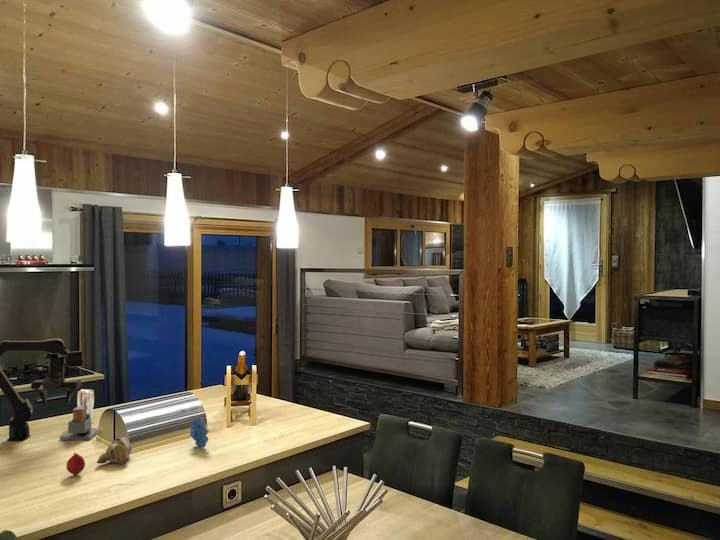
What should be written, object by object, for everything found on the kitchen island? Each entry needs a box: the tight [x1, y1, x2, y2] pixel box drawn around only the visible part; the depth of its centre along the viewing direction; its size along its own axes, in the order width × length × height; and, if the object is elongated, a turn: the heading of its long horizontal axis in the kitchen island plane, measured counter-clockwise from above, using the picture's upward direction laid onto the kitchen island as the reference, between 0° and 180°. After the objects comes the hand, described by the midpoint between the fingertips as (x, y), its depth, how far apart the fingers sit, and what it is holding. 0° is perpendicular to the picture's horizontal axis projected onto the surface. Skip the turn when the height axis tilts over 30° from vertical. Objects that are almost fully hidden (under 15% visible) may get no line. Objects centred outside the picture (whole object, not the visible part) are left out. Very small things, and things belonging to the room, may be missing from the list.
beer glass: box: [76, 389, 95, 425], centre depth 264 cm, size 7×7×15 cm
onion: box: [66, 452, 86, 476], centre depth 203 cm, size 6×6×8 cm
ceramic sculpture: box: [96, 435, 133, 465], centre depth 218 cm, size 11×9×15 cm
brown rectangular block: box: [72, 406, 87, 422], centre depth 246 cm, size 4×4×9 cm
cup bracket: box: [59, 413, 99, 441], centre depth 247 cm, size 12×12×8 cm
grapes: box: [189, 415, 209, 448], centre depth 235 cm, size 12×7×12 cm, turn 44°
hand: (56, 404), depth 248 cm, fingers open, 9 cm apart
